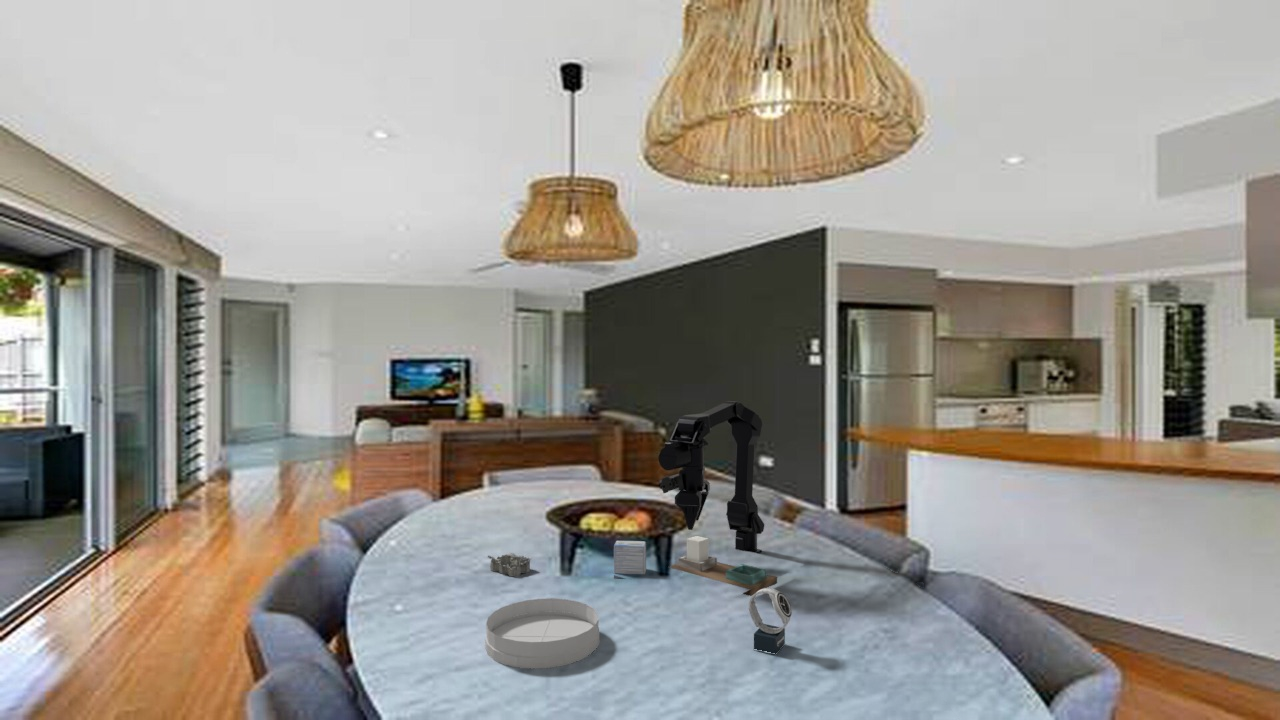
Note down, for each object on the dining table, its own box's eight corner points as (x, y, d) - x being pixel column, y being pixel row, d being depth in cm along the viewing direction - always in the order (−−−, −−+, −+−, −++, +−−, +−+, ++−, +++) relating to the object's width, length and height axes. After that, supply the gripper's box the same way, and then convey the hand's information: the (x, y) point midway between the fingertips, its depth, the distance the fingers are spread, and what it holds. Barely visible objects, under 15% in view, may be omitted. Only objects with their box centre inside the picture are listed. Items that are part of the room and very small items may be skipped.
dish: (500, 620, 143) (500, 597, 143) (604, 622, 142) (604, 598, 142) (471, 669, 121) (471, 641, 121) (593, 671, 120) (593, 643, 120)
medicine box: (646, 574, 172) (646, 541, 172) (644, 580, 168) (644, 545, 168) (615, 573, 173) (615, 540, 173) (613, 579, 169) (613, 544, 169)
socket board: (696, 562, 183) (696, 549, 183) (777, 583, 166) (777, 568, 166) (668, 572, 174) (668, 559, 174) (750, 595, 157) (750, 580, 157)
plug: (696, 562, 178) (696, 535, 178) (708, 565, 175) (708, 538, 175) (686, 565, 175) (686, 538, 175) (699, 569, 172) (699, 541, 172)
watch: (785, 657, 125) (786, 598, 125) (745, 648, 129) (745, 590, 129) (794, 646, 130) (795, 589, 130) (755, 637, 134) (755, 582, 134)
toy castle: (485, 570, 176) (485, 555, 176) (507, 563, 182) (507, 548, 182) (512, 579, 170) (512, 562, 170) (534, 571, 175) (534, 555, 175)
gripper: (669, 457, 184) (669, 514, 184) (654, 470, 166) (654, 533, 166) (709, 458, 181) (710, 516, 182) (698, 471, 163) (699, 535, 164)
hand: (693, 524), depth 173 cm, fingers open, 9 cm apart
